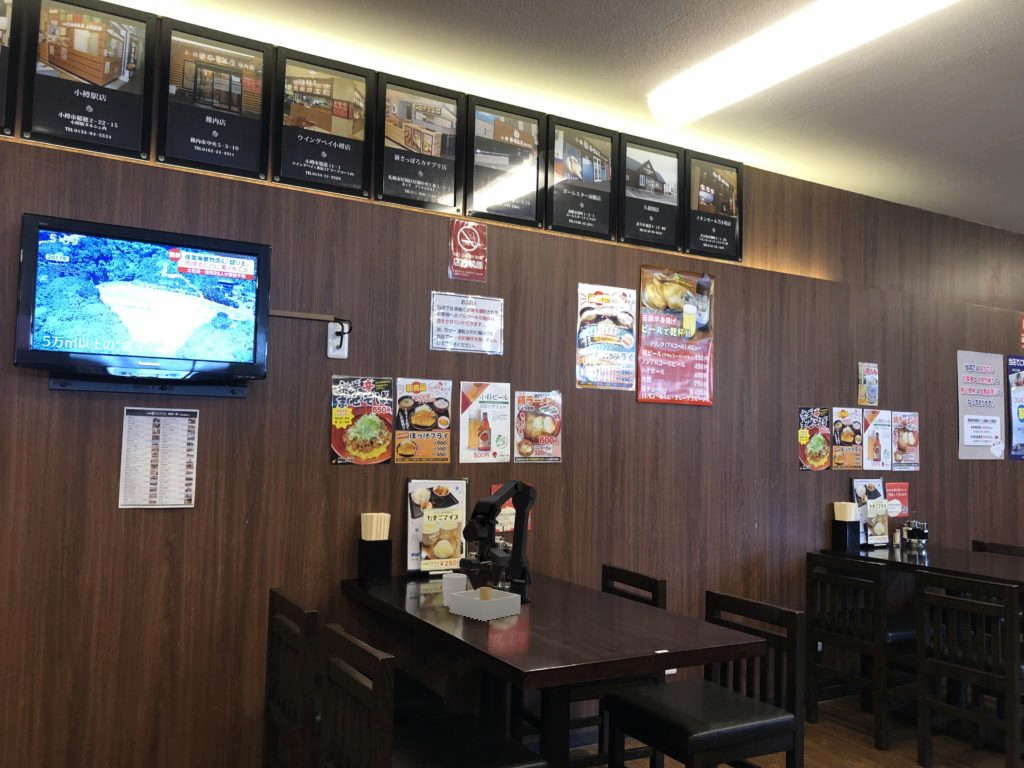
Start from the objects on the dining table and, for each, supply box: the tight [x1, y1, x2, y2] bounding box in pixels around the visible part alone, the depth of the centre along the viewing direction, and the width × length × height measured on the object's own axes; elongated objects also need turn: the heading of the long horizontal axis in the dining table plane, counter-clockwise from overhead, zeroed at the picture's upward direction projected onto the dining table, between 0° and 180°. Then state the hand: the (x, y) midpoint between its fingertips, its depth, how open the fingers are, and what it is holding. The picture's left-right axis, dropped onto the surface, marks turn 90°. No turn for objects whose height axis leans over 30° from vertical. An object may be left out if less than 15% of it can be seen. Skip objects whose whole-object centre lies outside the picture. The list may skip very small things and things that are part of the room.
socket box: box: [449, 588, 521, 622], centre depth 258 cm, size 16×16×6 cm
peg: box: [479, 586, 493, 601], centre depth 258 cm, size 4×4×8 cm
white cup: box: [442, 572, 467, 608], centre depth 268 cm, size 8×8×10 cm
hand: (485, 588), depth 258 cm, fingers open, 9 cm apart
